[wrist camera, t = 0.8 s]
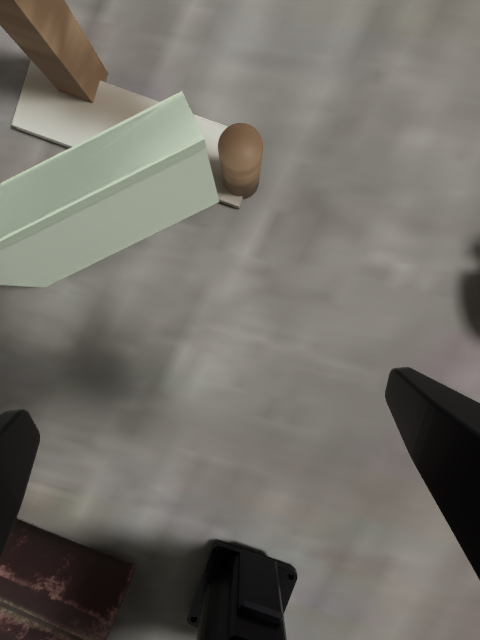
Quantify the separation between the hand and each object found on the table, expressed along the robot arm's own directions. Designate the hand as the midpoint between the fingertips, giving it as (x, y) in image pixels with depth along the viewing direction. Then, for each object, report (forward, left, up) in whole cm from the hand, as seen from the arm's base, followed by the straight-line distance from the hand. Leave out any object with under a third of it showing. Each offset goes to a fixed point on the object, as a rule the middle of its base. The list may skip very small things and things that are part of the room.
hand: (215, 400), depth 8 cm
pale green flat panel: (+4, +9, -14) cm, 17 cm away
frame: (+11, +10, -15) cm, 21 cm away
